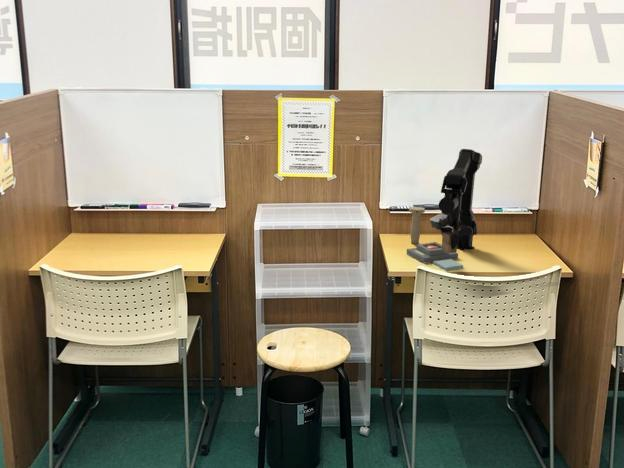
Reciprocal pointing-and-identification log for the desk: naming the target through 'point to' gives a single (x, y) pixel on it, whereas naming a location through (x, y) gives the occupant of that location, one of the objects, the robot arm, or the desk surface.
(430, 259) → the grey stepped block
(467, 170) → the robot arm
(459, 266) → the pad
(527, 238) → the desk surface
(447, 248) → the brown upright block
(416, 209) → the handle
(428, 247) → the button
